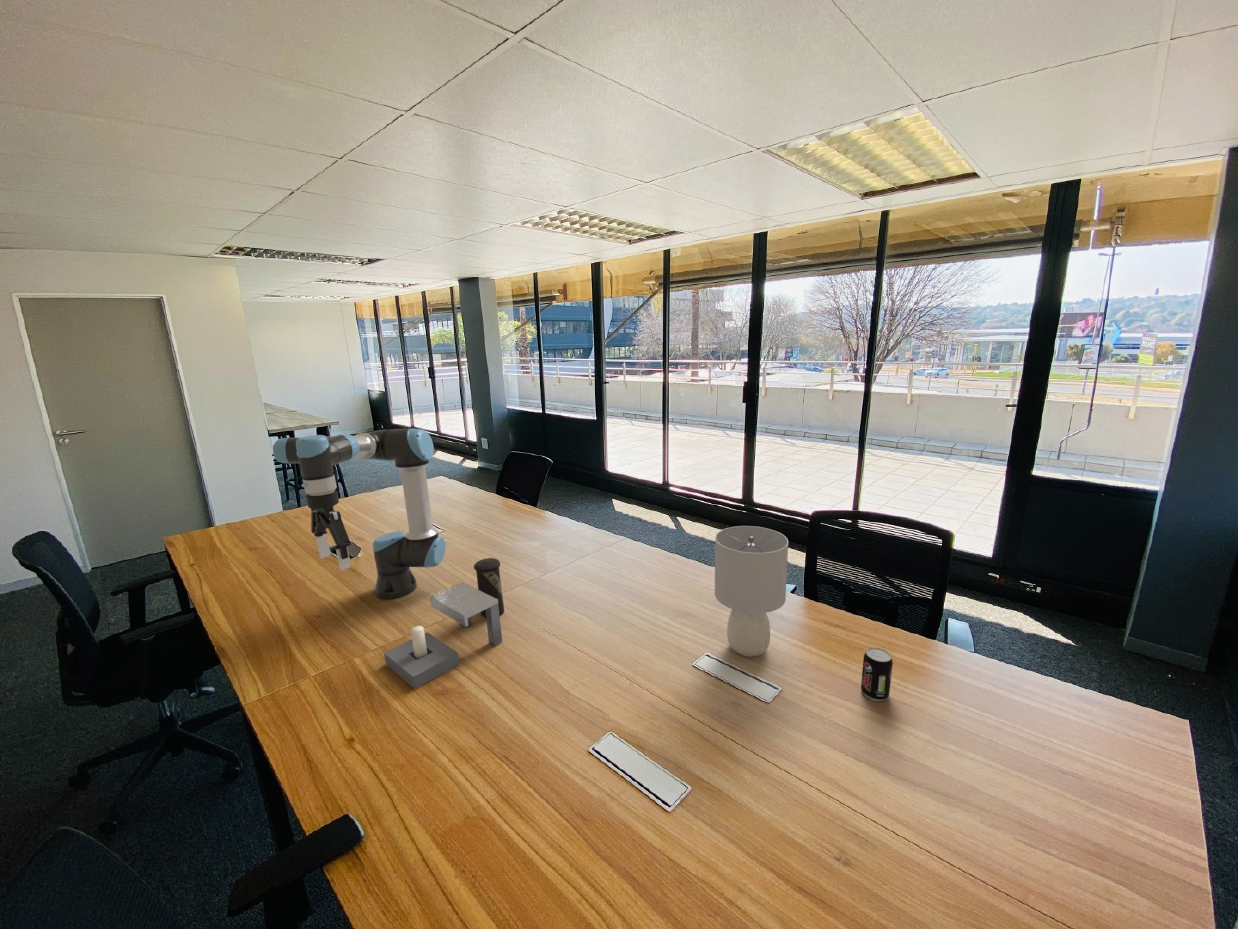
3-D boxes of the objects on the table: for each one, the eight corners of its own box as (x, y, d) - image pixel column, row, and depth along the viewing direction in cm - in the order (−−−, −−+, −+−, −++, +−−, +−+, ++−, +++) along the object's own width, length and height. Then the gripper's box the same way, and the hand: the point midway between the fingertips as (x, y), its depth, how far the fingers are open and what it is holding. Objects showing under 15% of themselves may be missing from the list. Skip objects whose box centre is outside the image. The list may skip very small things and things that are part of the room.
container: (498, 620, 172) (493, 567, 167) (475, 618, 174) (469, 566, 169) (509, 607, 180) (504, 556, 175) (486, 605, 182) (480, 555, 177)
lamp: (783, 636, 156) (788, 527, 148) (782, 676, 138) (787, 554, 129) (719, 626, 163) (720, 521, 154) (709, 663, 144) (710, 547, 136)
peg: (413, 665, 149) (408, 630, 146) (425, 659, 152) (419, 624, 149) (419, 669, 147) (414, 634, 144) (431, 663, 149) (425, 628, 146)
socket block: (386, 664, 150) (384, 653, 149) (428, 643, 160) (427, 632, 159) (415, 689, 138) (413, 677, 137) (459, 664, 148) (458, 652, 148)
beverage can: (887, 706, 125) (892, 665, 122) (859, 697, 129) (862, 657, 126) (889, 691, 131) (894, 651, 128) (862, 682, 134) (865, 643, 131)
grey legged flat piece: (435, 637, 163) (429, 596, 159) (467, 621, 172) (462, 582, 168) (470, 660, 150) (464, 615, 146) (502, 642, 159) (497, 599, 155)
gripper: (289, 488, 141) (303, 556, 146) (325, 503, 125) (340, 579, 130) (317, 481, 146) (330, 548, 151) (355, 495, 131) (368, 568, 136)
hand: (335, 562), depth 141 cm, fingers open, 13 cm apart
